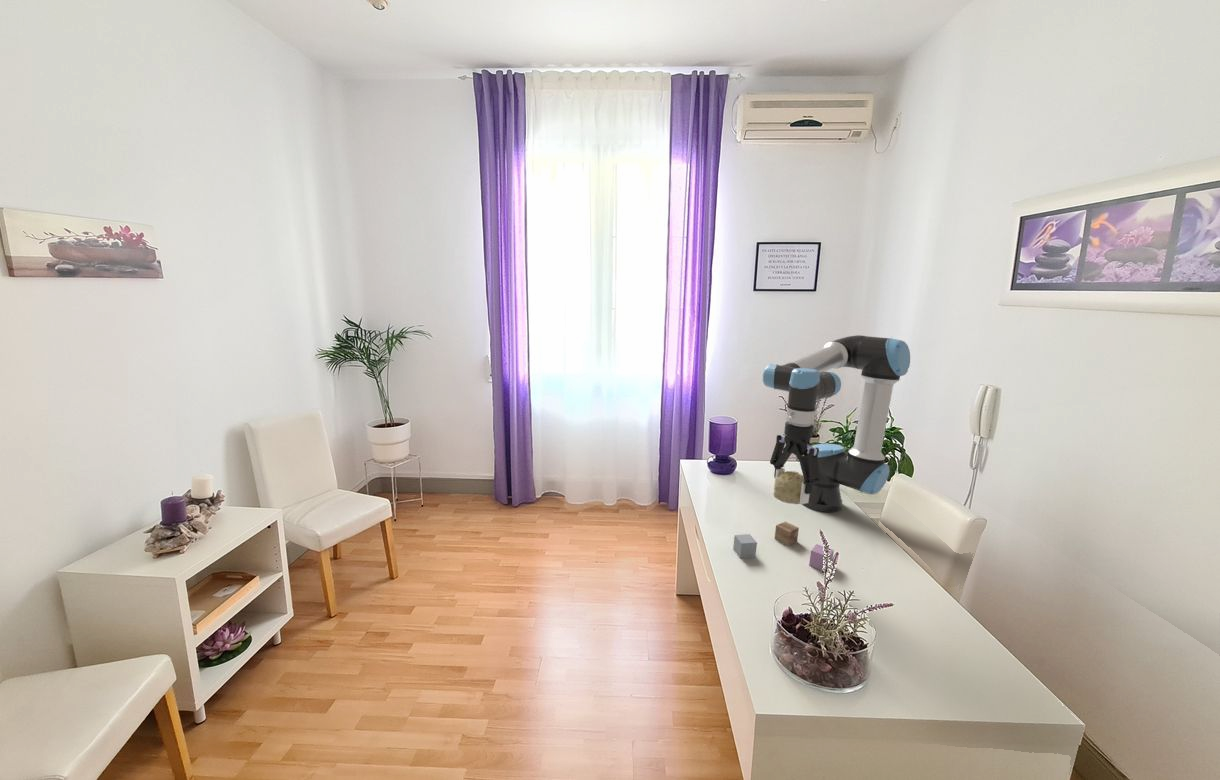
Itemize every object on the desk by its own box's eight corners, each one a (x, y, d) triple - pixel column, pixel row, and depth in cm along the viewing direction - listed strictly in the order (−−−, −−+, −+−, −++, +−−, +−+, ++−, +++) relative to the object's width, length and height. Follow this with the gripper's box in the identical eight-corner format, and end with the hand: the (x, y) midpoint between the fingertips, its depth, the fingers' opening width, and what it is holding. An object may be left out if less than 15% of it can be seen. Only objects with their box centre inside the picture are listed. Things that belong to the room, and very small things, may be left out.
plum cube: (814, 558, 150) (816, 543, 149) (831, 565, 147) (833, 550, 146) (809, 565, 147) (811, 550, 146) (826, 572, 144) (828, 556, 143)
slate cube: (748, 548, 155) (749, 534, 154) (755, 557, 150) (757, 542, 149) (733, 549, 154) (734, 535, 153) (740, 558, 149) (741, 543, 148)
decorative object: (798, 517, 141) (821, 491, 139) (769, 496, 141) (792, 469, 140) (790, 506, 150) (812, 481, 148) (764, 486, 150) (785, 461, 149)
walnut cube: (783, 535, 164) (785, 521, 163) (797, 541, 160) (798, 527, 159) (774, 539, 161) (776, 525, 160) (787, 546, 157) (789, 531, 156)
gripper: (762, 414, 148) (755, 483, 153) (820, 435, 129) (810, 514, 134) (781, 411, 152) (773, 480, 157) (841, 432, 132) (830, 509, 137)
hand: (790, 495), depth 145 cm, fingers closed on decorative object, 9 cm apart
